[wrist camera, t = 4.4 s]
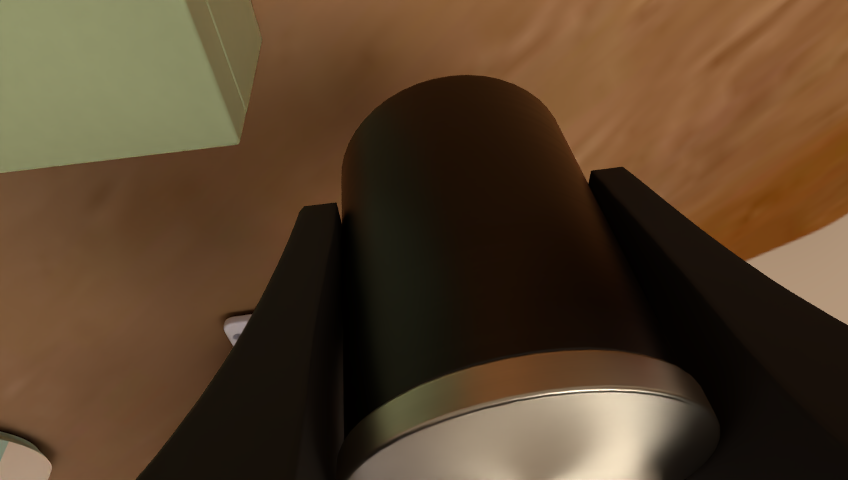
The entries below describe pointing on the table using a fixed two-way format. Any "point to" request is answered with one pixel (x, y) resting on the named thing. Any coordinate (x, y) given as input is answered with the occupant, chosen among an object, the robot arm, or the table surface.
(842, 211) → the table surface
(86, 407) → the table surface
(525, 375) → the canister
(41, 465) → the can
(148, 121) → the shelf
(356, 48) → the table surface
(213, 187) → the table surface
